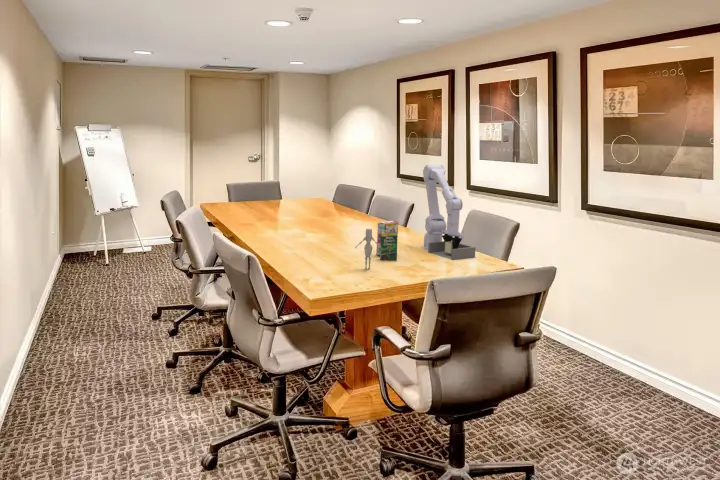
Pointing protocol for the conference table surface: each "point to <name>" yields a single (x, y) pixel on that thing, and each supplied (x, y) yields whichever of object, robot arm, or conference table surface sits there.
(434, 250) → the open box
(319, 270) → the conference table surface
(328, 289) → the conference table surface
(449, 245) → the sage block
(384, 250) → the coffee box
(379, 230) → the candy bar box
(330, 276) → the conference table surface
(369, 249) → the human figurine
